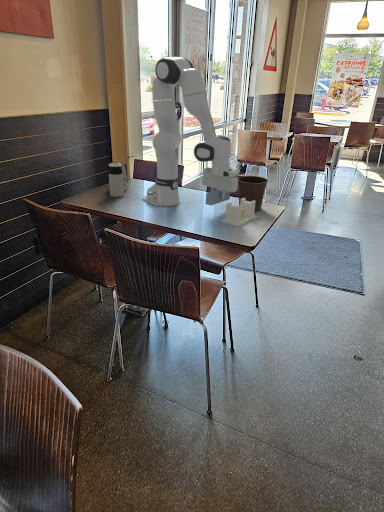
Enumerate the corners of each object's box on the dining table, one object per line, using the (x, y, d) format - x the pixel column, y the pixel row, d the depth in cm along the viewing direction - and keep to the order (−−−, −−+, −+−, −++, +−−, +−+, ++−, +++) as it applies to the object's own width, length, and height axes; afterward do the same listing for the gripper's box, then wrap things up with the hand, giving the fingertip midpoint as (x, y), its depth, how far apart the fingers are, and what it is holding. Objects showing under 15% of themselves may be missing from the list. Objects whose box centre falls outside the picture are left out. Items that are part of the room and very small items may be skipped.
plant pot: (241, 213, 182) (244, 183, 175) (230, 204, 196) (232, 176, 189) (269, 212, 186) (273, 182, 179) (256, 203, 200) (260, 175, 193)
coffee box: (128, 189, 216) (127, 163, 209) (119, 191, 212) (118, 165, 205) (120, 186, 222) (118, 161, 215) (111, 188, 218) (109, 162, 211)
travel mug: (116, 198, 200) (114, 166, 192) (107, 195, 204) (105, 164, 196) (126, 195, 205) (125, 164, 197) (117, 192, 210) (115, 162, 202)
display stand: (220, 221, 170) (222, 203, 166) (241, 213, 182) (243, 196, 178) (237, 227, 164) (239, 208, 160) (257, 218, 177) (259, 200, 173)
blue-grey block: (205, 203, 174) (206, 192, 172) (224, 197, 185) (225, 186, 183) (210, 205, 172) (211, 193, 170) (229, 199, 183) (230, 188, 181)
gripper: (200, 167, 176) (198, 193, 182) (233, 174, 164) (230, 202, 170) (208, 165, 180) (206, 191, 186) (240, 172, 168) (237, 200, 174)
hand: (218, 197), depth 178 cm, fingers closed on blue-grey block, 3 cm apart
